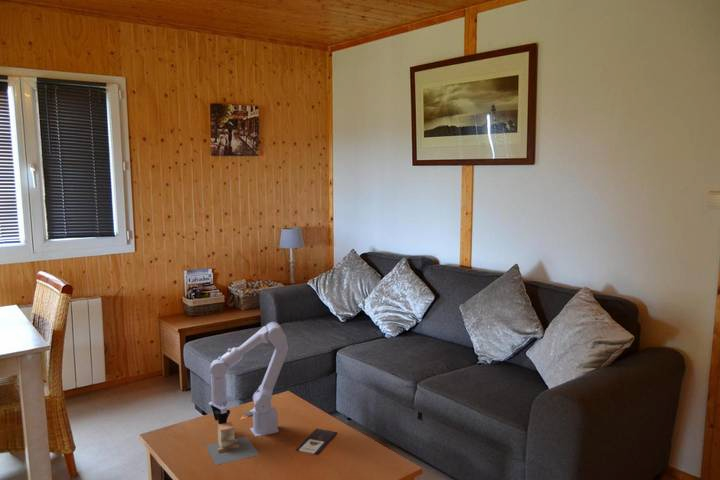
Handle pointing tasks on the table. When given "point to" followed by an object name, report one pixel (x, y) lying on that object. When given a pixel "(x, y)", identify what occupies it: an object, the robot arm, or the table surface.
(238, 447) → the stop strip
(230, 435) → the birch block
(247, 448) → the rubber mat
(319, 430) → the chocolate bar
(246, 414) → the key chain
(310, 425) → the table surface
